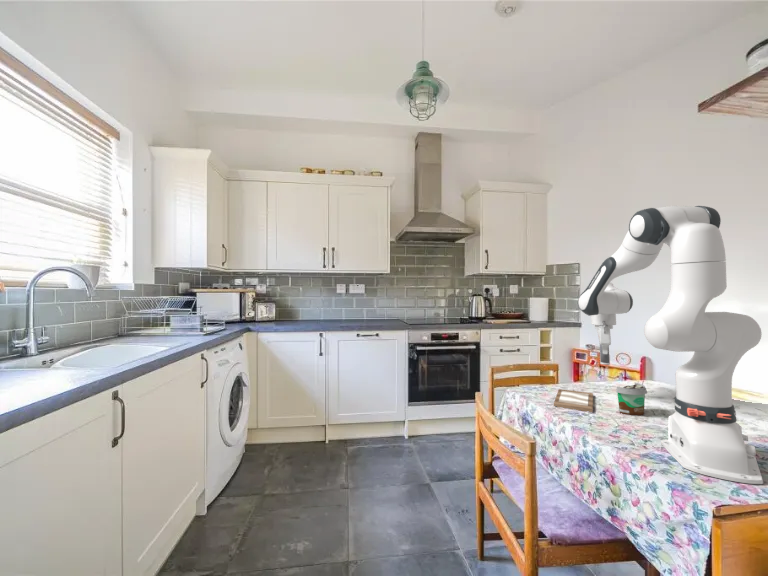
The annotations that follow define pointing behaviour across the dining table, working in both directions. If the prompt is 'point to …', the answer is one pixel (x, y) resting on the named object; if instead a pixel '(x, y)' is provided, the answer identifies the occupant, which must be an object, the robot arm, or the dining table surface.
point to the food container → (631, 399)
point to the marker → (604, 357)
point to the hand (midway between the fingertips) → (604, 352)
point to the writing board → (574, 400)
